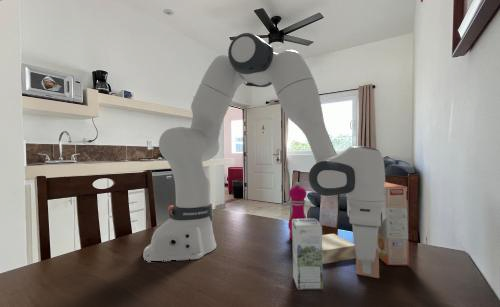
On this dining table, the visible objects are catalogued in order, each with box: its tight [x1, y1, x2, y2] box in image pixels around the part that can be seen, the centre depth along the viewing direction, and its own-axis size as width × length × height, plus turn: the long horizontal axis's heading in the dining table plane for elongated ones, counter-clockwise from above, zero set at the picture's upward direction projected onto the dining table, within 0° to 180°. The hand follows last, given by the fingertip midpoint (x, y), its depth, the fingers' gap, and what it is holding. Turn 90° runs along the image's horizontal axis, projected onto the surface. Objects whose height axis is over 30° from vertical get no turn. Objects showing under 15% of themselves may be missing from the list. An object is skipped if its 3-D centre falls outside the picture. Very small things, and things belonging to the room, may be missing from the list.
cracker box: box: [376, 181, 410, 266], centre depth 71 cm, size 14×6×21 cm, turn 176°
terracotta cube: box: [355, 250, 380, 279], centre depth 61 cm, size 5×5×5 cm
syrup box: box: [291, 218, 324, 291], centre depth 56 cm, size 6×6×14 cm
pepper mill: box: [287, 181, 308, 240], centre depth 87 cm, size 7×7×20 cm
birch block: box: [322, 233, 356, 264], centre depth 73 cm, size 11×11×4 cm
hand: (367, 265), depth 61 cm, fingers open, 7 cm apart
